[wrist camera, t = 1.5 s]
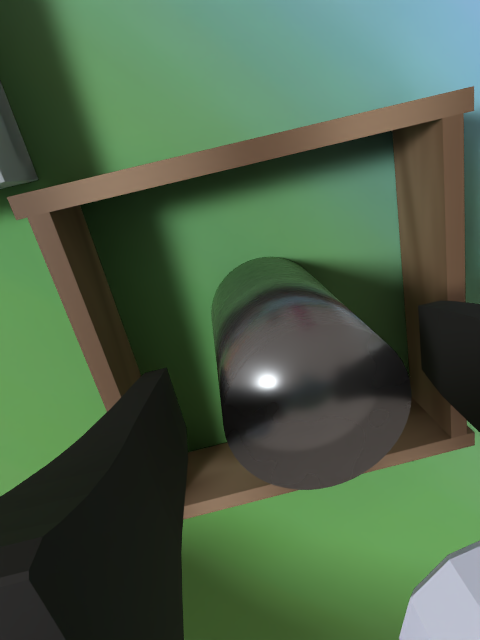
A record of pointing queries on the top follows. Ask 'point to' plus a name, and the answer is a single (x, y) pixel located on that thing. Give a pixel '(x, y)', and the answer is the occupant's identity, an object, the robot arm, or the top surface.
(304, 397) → the metal tin
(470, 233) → the top surface
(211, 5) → the top surface
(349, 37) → the top surface
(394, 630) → the top surface
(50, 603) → the robot arm
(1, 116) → the slate tray
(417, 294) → the walnut box
